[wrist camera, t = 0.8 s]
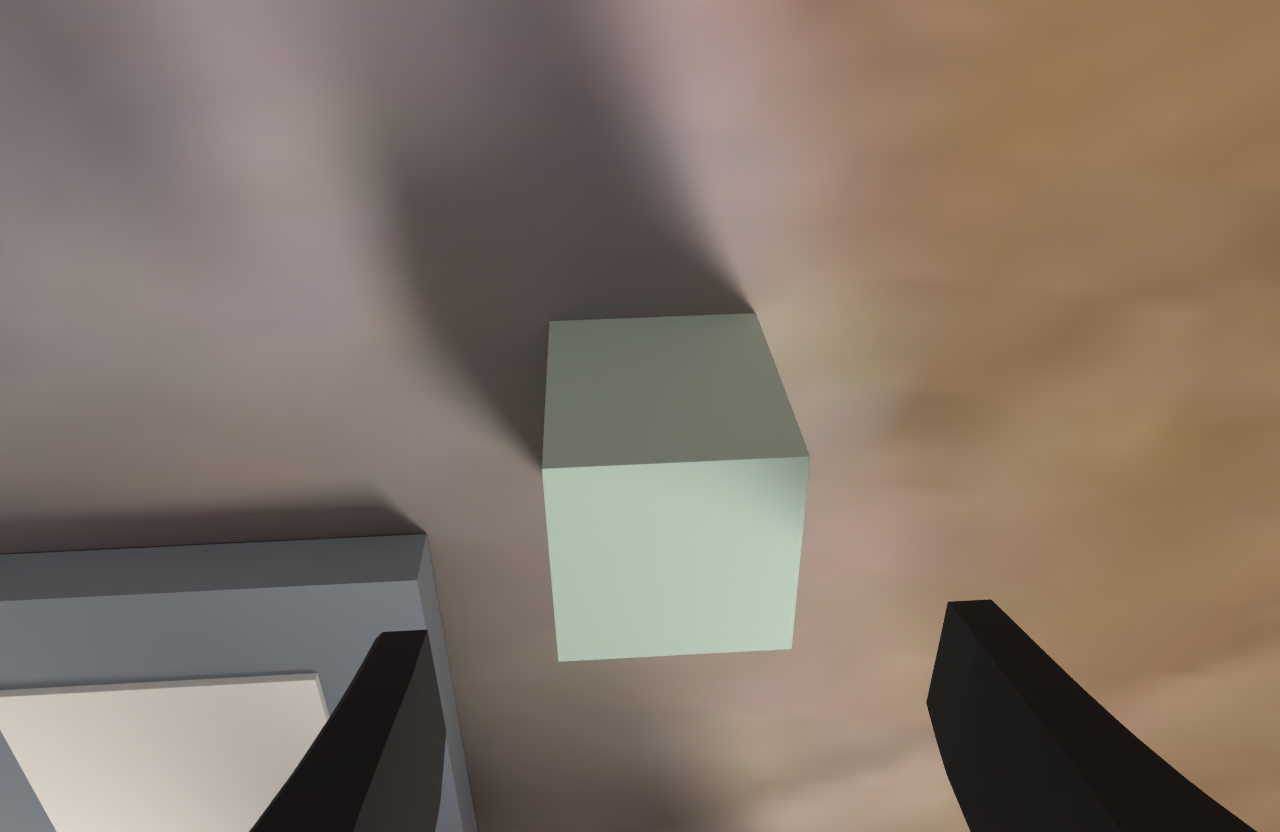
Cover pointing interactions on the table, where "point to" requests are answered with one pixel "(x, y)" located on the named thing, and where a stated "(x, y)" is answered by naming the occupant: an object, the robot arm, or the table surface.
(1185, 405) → the table surface
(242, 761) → the slate base
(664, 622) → the sage block
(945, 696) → the robot arm
